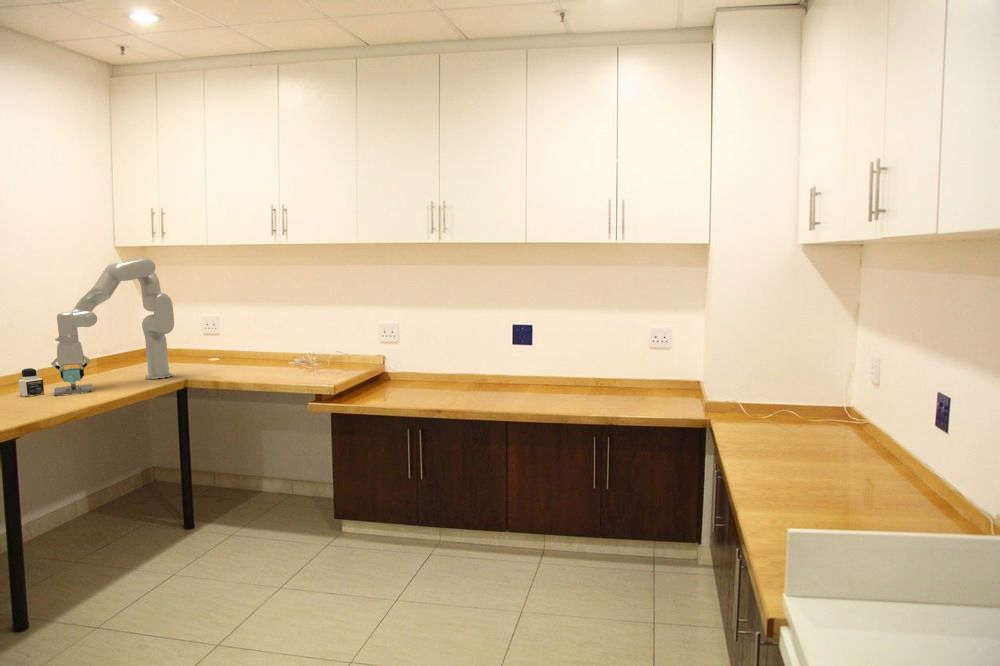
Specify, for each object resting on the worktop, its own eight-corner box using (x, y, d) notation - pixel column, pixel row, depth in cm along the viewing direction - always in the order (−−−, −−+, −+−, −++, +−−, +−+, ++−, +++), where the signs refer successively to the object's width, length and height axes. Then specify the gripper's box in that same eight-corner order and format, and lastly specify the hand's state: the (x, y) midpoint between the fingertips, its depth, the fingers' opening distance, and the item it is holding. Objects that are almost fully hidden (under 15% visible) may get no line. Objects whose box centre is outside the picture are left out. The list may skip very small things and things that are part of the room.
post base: (54, 391, 335) (53, 378, 335) (92, 387, 343) (90, 374, 342) (54, 396, 322) (53, 382, 322) (93, 391, 330) (92, 378, 329)
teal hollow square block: (66, 379, 334) (64, 369, 333) (81, 378, 336) (80, 367, 336) (62, 383, 325) (61, 372, 325) (79, 381, 328) (78, 370, 327)
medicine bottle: (27, 397, 322) (24, 370, 321) (19, 395, 326) (16, 369, 325) (44, 394, 328) (42, 367, 327) (36, 392, 332) (33, 366, 331)
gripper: (45, 342, 323) (49, 381, 325) (89, 339, 330) (93, 378, 332) (48, 340, 330) (52, 379, 332) (91, 337, 337) (95, 375, 339)
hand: (72, 378), depth 332 cm, fingers closed on teal hollow square block, 6 cm apart
